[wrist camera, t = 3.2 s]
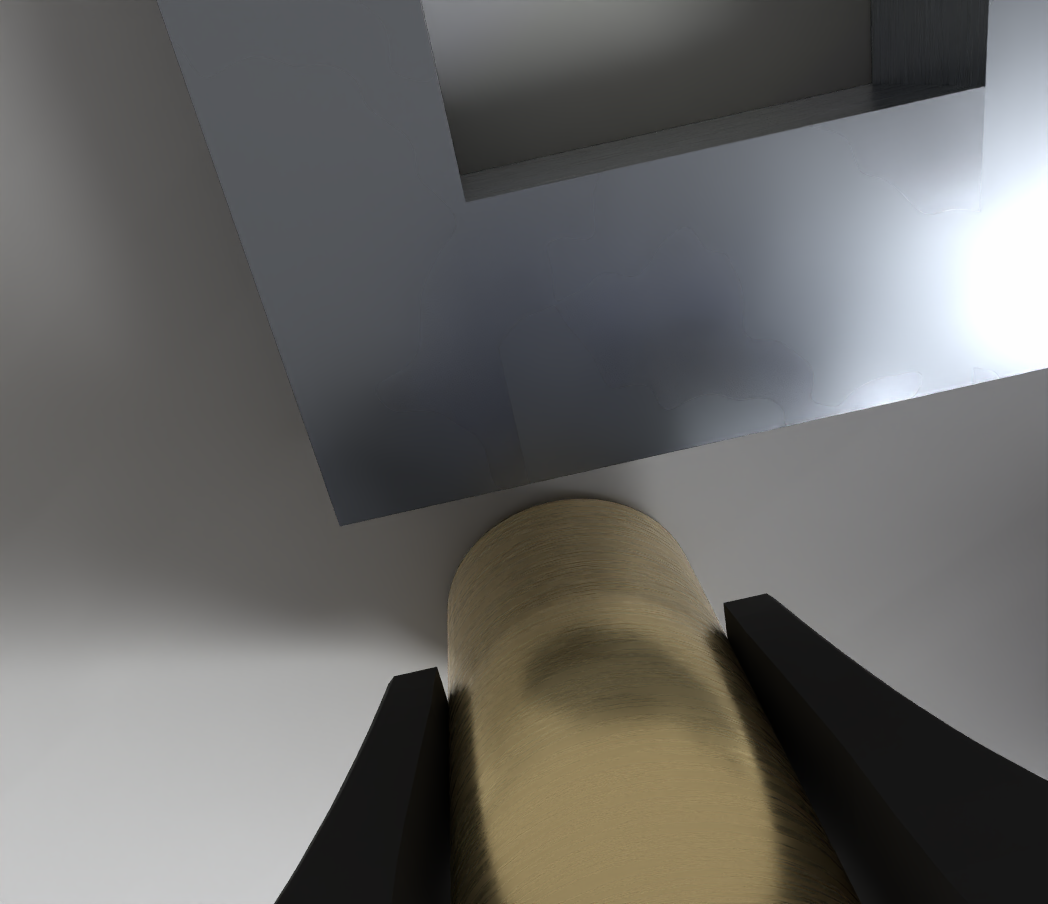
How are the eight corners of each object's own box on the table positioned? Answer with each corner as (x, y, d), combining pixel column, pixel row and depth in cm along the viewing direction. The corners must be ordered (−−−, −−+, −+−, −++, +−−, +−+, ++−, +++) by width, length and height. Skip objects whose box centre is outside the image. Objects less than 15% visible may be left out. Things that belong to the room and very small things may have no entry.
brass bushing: (705, 676, 14) (925, 1177, 8) (477, 727, 14) (509, 1270, 8) (678, 473, 12) (933, 901, 6) (419, 530, 12) (396, 1021, 6)
